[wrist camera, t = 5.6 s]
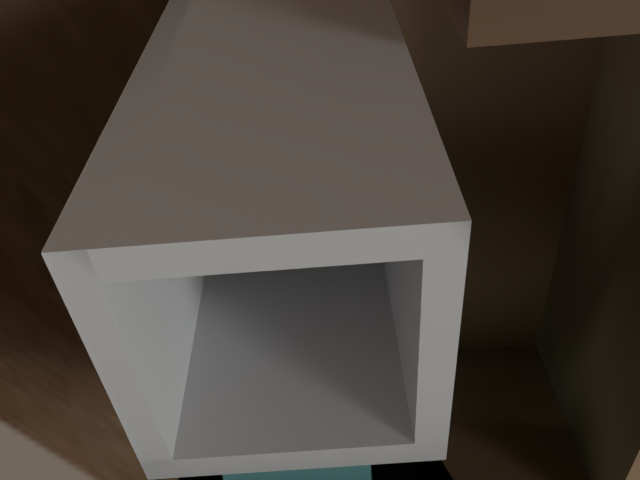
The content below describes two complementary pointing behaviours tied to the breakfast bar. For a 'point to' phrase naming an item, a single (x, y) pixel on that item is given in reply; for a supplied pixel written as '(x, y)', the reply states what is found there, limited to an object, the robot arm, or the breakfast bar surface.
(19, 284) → the breakfast bar surface
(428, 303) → the white and teal holder
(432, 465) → the robot arm
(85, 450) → the breakfast bar surface
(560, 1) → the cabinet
